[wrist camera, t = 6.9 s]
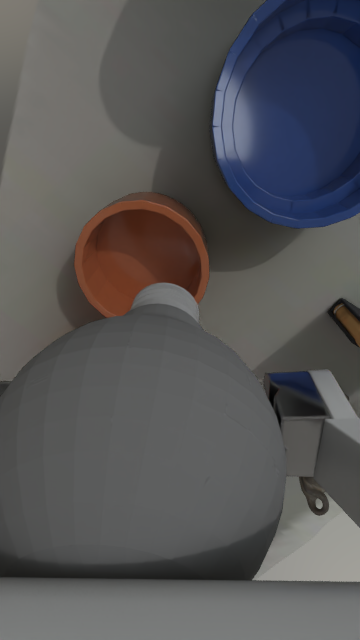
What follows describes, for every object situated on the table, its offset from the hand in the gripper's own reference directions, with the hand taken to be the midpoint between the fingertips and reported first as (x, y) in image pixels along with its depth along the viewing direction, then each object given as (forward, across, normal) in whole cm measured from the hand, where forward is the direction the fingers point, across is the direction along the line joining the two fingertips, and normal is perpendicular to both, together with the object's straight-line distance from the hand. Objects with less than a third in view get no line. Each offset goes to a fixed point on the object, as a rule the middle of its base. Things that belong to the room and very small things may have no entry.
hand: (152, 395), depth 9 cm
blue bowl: (+21, +9, +6) cm, 24 cm away
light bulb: (+5, 0, 0) cm, 5 cm away
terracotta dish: (+21, -3, -3) cm, 21 cm away
